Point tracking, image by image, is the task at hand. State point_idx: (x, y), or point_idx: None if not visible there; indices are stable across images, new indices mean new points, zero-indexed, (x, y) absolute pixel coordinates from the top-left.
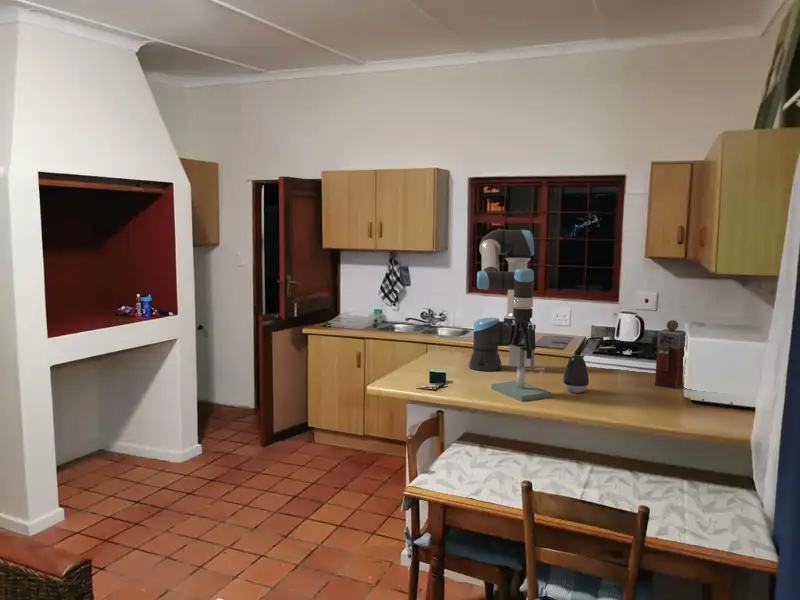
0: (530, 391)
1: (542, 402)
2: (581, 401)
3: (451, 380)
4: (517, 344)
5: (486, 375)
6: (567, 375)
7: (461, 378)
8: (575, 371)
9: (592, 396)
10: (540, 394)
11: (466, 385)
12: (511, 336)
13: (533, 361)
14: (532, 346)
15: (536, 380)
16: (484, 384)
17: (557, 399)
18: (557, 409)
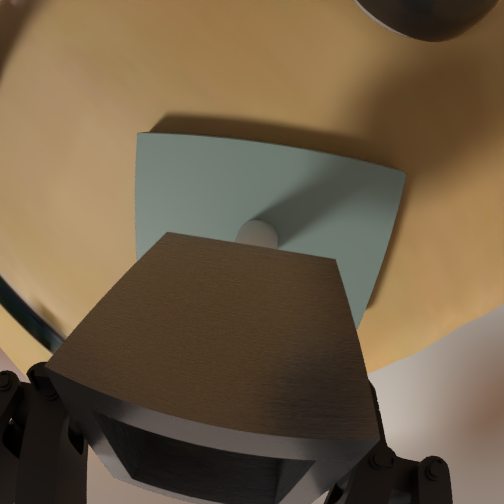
0: (338, 247)
1: (418, 263)
2: (499, 127)
3: (36, 301)
4: (117, 454)
5: (9, 163)
6: (432, 19)
7: (22, 263)
8: (487, 11)
9: (476, 29)
10: (389, 232)
11: (86, 312)
12: (15, 481)
13: (340, 286)
14: (359, 457)
15: (137, 6)
16: (89, 256)
17: (437, 176)
18: (483, 283)
